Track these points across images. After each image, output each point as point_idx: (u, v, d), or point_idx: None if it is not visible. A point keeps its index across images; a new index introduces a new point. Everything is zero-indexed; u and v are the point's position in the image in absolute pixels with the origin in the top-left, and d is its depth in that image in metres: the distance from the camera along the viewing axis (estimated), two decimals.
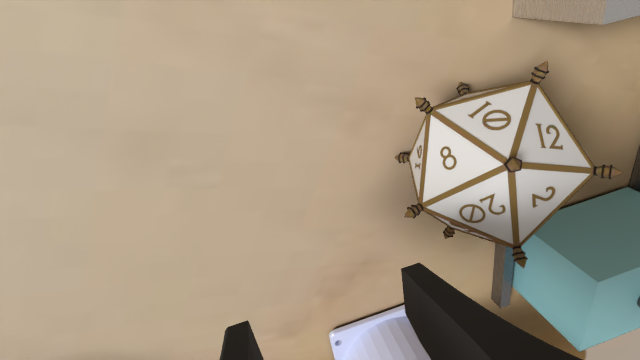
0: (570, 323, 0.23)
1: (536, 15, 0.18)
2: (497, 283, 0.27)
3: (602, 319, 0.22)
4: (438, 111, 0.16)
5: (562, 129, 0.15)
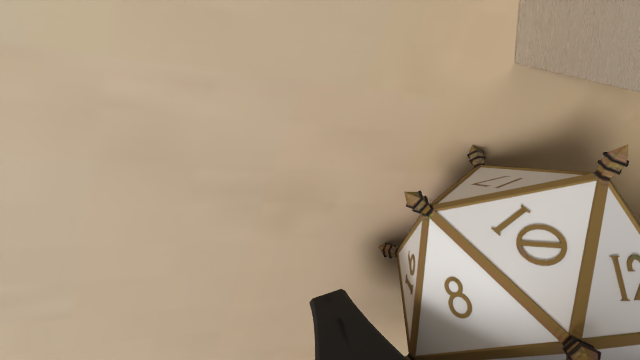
0: None
1: (552, 66, 0.11)
2: None
3: None
4: (442, 214, 0.10)
5: None
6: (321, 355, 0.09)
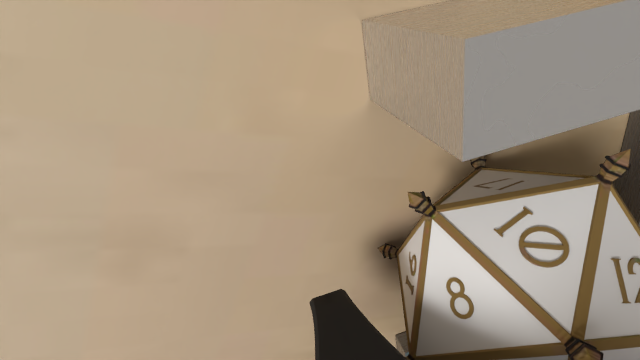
0: None
1: (390, 108, 0.10)
2: None
3: None
4: (444, 215, 0.10)
5: None
6: (321, 355, 0.09)
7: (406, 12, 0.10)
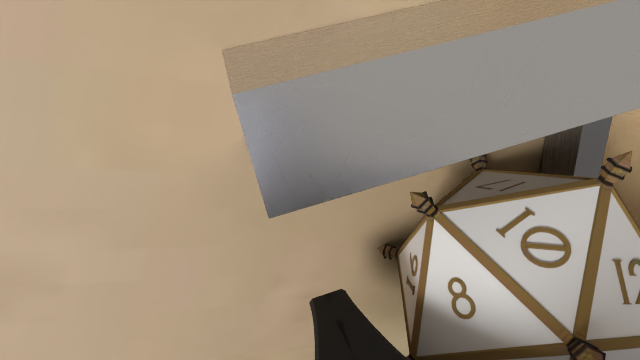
0: None
1: None
2: None
3: None
4: (446, 216, 0.10)
5: None
6: (321, 355, 0.09)
7: (266, 42, 0.10)
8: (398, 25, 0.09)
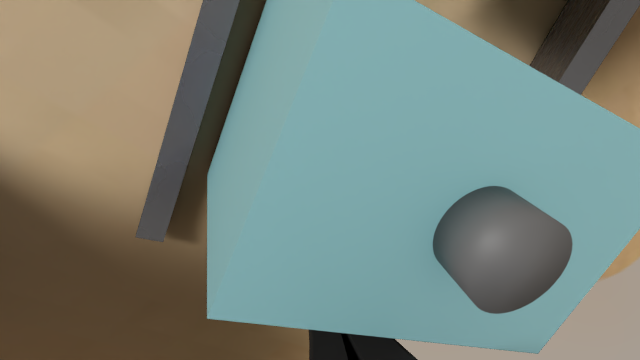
0: (231, 218, 0.07)
1: None
2: None
3: (317, 218, 0.06)
4: None
5: None
6: (315, 357, 0.09)
7: None
8: None
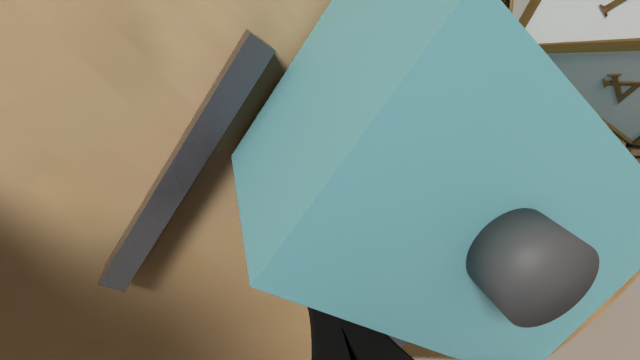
0: (287, 193, 0.07)
1: None
2: (131, 224, 0.12)
3: (379, 206, 0.06)
4: None
5: None
6: (317, 356, 0.09)
7: None
8: None
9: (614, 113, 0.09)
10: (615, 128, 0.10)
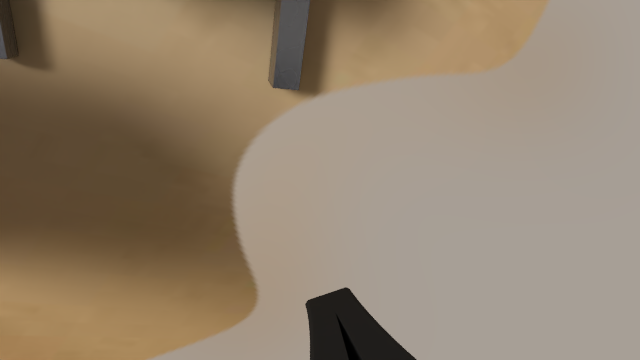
0: None
1: None
2: None
3: None
4: None
5: None
6: (316, 357, 0.09)
7: None
8: None
9: None
10: None
